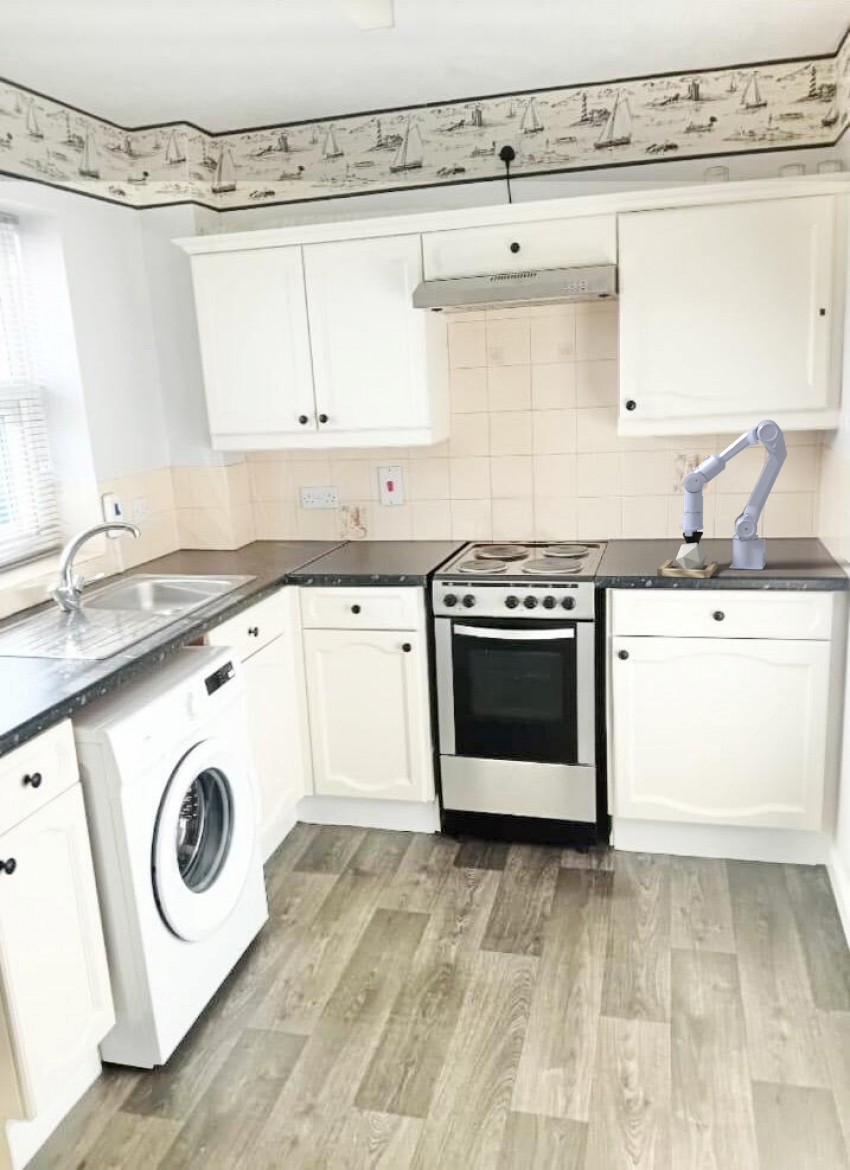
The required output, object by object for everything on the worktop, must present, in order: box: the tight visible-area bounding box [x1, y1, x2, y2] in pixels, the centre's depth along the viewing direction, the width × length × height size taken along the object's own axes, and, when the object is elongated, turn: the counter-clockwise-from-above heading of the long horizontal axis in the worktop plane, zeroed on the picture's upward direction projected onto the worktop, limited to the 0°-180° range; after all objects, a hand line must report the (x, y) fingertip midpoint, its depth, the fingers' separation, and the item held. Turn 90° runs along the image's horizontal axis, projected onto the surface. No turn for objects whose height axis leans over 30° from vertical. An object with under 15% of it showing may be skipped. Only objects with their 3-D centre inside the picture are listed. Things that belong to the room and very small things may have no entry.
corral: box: [656, 559, 719, 579], centre depth 272 cm, size 15×14×2 cm
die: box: [675, 543, 709, 570], centre depth 274 cm, size 8×9×10 cm
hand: (692, 555), depth 278 cm, fingers closed
